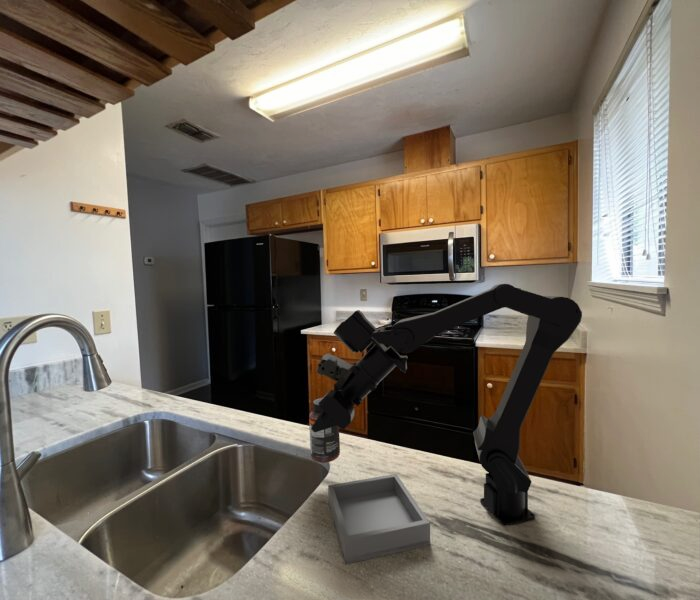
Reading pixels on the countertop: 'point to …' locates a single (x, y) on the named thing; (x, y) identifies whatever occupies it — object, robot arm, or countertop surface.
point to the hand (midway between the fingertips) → (317, 423)
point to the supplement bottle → (323, 439)
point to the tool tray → (376, 518)
